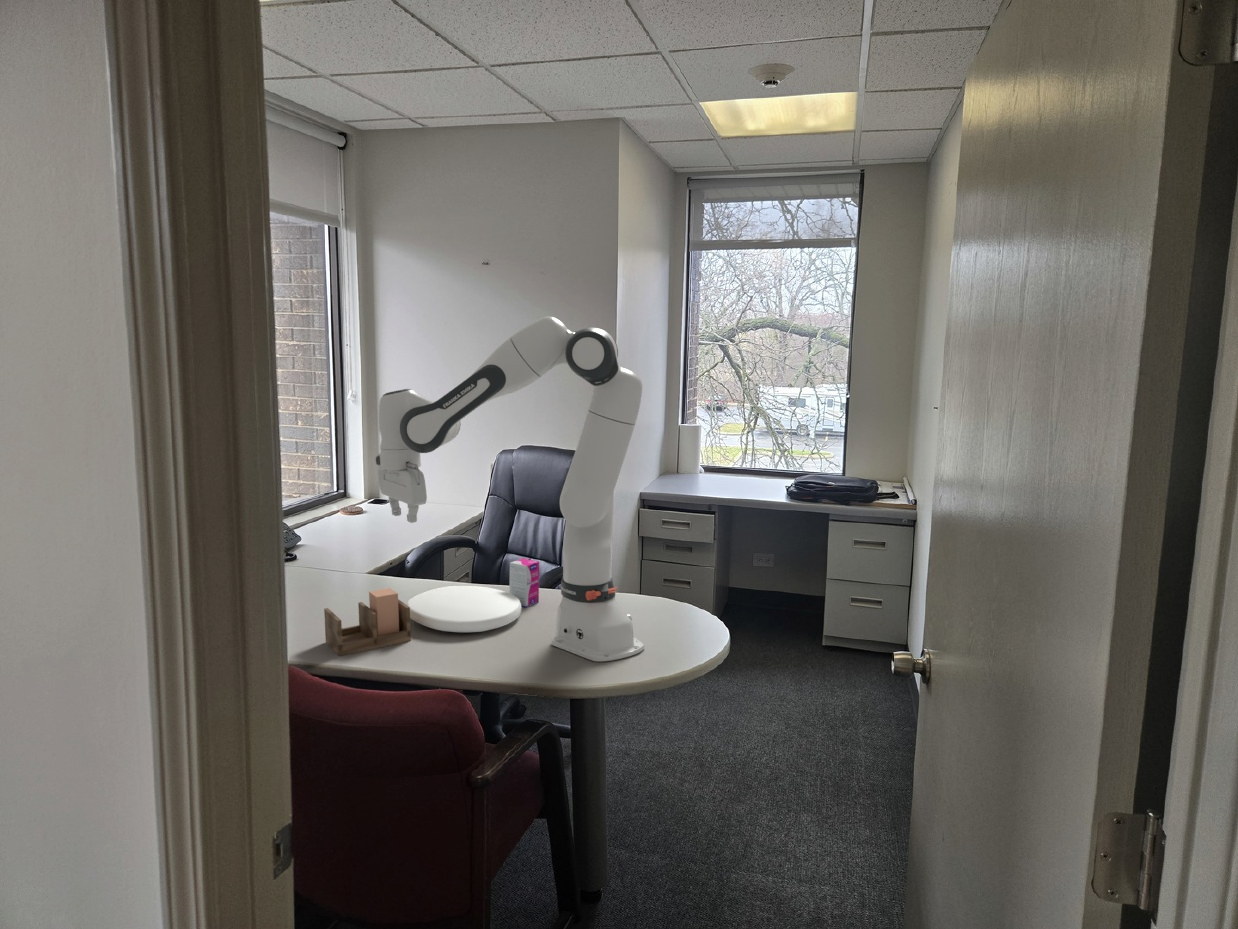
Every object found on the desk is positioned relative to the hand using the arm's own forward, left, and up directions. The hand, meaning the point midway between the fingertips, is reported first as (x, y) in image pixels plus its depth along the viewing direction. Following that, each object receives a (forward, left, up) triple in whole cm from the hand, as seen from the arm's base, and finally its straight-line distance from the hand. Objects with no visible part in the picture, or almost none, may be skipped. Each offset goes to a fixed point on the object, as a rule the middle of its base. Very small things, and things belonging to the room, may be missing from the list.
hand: (404, 518), depth 190 cm
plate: (+1, -15, -28) cm, 32 cm away
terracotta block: (-1, +6, -27) cm, 27 cm away
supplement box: (+3, -33, -28) cm, 43 cm away
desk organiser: (-1, +10, -28) cm, 29 cm away
